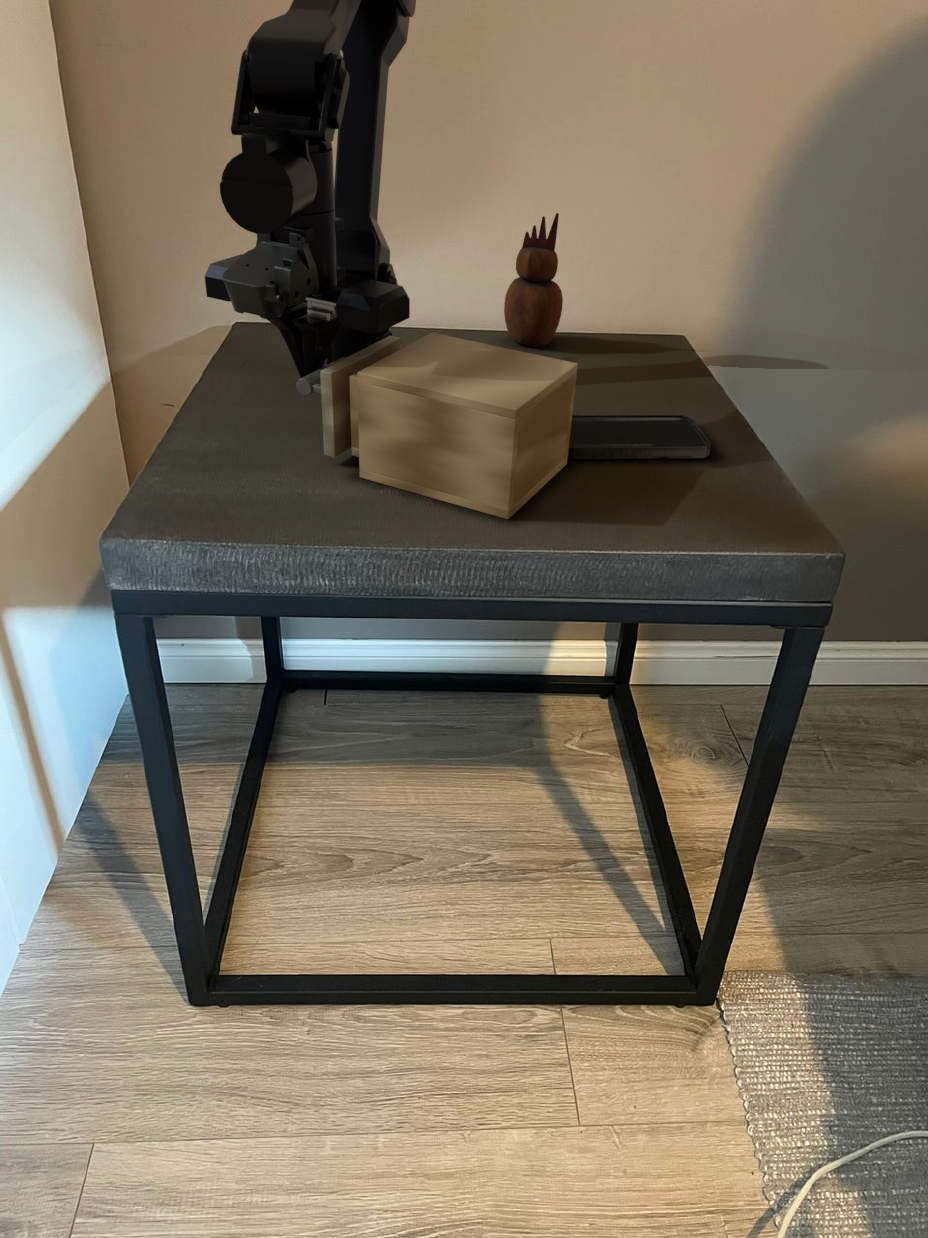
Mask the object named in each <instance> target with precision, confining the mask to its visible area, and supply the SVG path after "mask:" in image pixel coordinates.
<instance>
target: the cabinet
mask: <svg viewBox="0 0 928 1238" xmlns="http://www.w3.org/2000/svg"><path fill="white" fill-rule="evenodd" d="M578 366H579V363H578V362H574V361H573V362H572V361H569V360H563V359H559V358H558V359H557V358H554V357H550V356H544V355H540V354H536V353H531V352H530V353H529V352H526V351H521V350H516V349H511V348H508V347H507V348H506V347H502V346H497V345H493V344H488V343H483V342H479V341H473V340H469V339H464V338H459V337H456V336H451V335H446V334H440V333H436V332H431V333H428V334H427V335H425V336H423V337H421V338H419V339H417V340H415V341H414V342H412V343H410V344H408V345H406V346H404V347H401V349H400V350H398V351H397V352H395V353H393V354H391V355H389V356H387V357H385V358H383V359H382V360H380V361H378V362H376V363H374V364H372V365H370V366H368V367H367V368H365V369H363V370H361V371H359V372H357V381H358V382H357V384H358V425H359V457H358V461H359V462H358V463H359V464H358V465H359V478H361V479H364V480H367V481H371V482H375V483H378V484H381V485H385V486H390V487H392V488H395V489H399V490H402V491H407V492H409V493H412V494H417V495H419V496H424V497H428V498H431V499H435V500H438V501H441V502H445V503H449V504H451V505H455V506H459V507H463V508H466V509H469V510H472V511H473V510H474V511H477V512H480V513H483V514H487V515H490V516H494V517H498V518H501V519H503V520H504V519H505V520H509V519H511V517H512V516H514V515H515V514H516V513H517V512H518V511H519V510H520V509H521V508H522V507H523V506H524V505H525V504H527V503H528V501H529V500H531V499H532V498H533V497H534V496H535V495H536V494H537V493H538V492H539V491H541V489H542V488H543V487H545V485H546V484H548V483H549V481H551V480H552V479H553V478H554V477H555V476H556V475H558V473H559V472H560V471H562V469H563V468H564V467H565V466H567V464H568V459H567V458H568V457H567V456H568V449H569V440H570V431H571V422H572V415H573V413H574V412H573V411H574V403H575V395H576V387H577V376H578Z"/></svg>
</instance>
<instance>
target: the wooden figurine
mask: <svg viewBox="0 0 928 1238" xmlns="http://www.w3.org/2000/svg"><path fill="white" fill-rule="evenodd" d="M559 216H560V214H559V212H555V215H554V218H553V222H552V224H551V227H550V230H549V232H548V235H547V227H546V226H547V225H546V216H545V215H543V216H542V218H541V222H540V227H539V232H538V233H537V226H536V225H533V226H532V230H531V235H530V233H529V231H526V232H525V234H524V237H523V242H522V246H521V248H520V250H519V251H518V254H517V256H516V258H515V259H516V260H515V271H516V274H517V275H518V277H516V278H514V279H513V280H512V281H511V283H510V284H509V286H508V288H507V291H506V293H505V298H504V305H503V306H504V307H503V313H504V314H503V315H504V321H505V323H504V324H505V326H506V330H507V332H508V335H509V337H510V338H511V340H513V341H514V342H515V343H517V344H518V345H522V346H526V347H542V346H546V345H549V343H550V342H552V340H553V338H554V336H555V334H556V332H557V329H558V327H559V325H560V321H561V317H562V312H563V311H562V310H563V304H564V303H563V299H564V298H563V292H562V289H561V288H560V286H559V284H558V283H557V282H555V281H554V280H553V279H554V278H555V277H556V275H557V272H558V267H559V259H558V258H559V257H558V254H557V252H556V250H555V249H556V243H557V235H558V227H559V225H558V224H559Z"/></svg>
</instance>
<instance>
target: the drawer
mask: <svg viewBox="0 0 928 1238" xmlns="http://www.w3.org/2000/svg"><path fill="white" fill-rule="evenodd" d="M401 339H402V338H401V337H399V336H393V335H392V336H388V337H386V338H384V339H382V340H380V341H378V342H377V343H375V344H373V345H371V346H369V347H367V348H365V349H363V350H361V351H359V352H357V353H355V354H353V355H351V356H349V357H343V358H341V359H339V360H337V361H335V362H333V363H331V364H329V365H327V366H325V367H323V368H321V369H319V370H317V371H315V372H313V373H311V374H309V375H307V376H305V377H303V378H301V377H300V378H299V379H297V381H296V385H295V387H296V389H297V391H298V393H299V394H300V395H301V396H304V397H309V396H310V395H311V394H314V393H315V394H316V393H317V394H321V395H320V396H321V416H322V436H323V454H324V455H325V456H328V457H331V458H337V457H339V456H340V455H342V454H343V453H344V452H346V451H348V450H349V449H351V456H353V457H357V458H359V425H358V384H357V382H358V381H357V372H359V371H361V370H363V369H365V368H367V367H368V366H370V365H372V364H374V363H376V362H378V361H380V360H382V359H383V358H385V357H387V356H389V355H391V354H393V353H395V352H397V351H398V350H400V349H402V340H401Z"/></svg>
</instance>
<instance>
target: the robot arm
mask: <svg viewBox="0 0 928 1238" xmlns="http://www.w3.org/2000/svg"><path fill="white" fill-rule="evenodd" d="M416 7H417V0H292V2H291V3H290V6H289V8H288V9H287V11H286V12H285V13H284V14H282V15H279V16H276V17H274V18H271V19H268V20H266V21H264V22H263V23H262V24H261V25H260V26H259V28H257V30H256V31H254V33H253V34H252V36H251V37H250V38H249V40H248V42H247V45H246V49H244V50H243V52H242V54H241V58H240V62H239V70H238V76H237V84H236V90H235V98H234V103H233V111H232V117H231V124H230V132H231V135H232V136H240V143H241V152H240V153H238V154H236V155H234V156H233V157H232V158H231V159H230V160H229V162H228V163H226V165H225V167H224V169H223V170H222V175H221V179H220V182H219V194H220V198H221V203H222V204H223V207H224V209H225V211H226V213H227V214H228V215H229V217H230V218H231V220H232V221H234V222H235V224H237V225H238V226H239V228H240V227H241V228H242V229H243V230H245V231H247V232H250V233H253V234H256V244H255V246H254V247H253V248H252V249H249V250H247V251H246V252H244V253H240V254H236V255H234V256H230V257H227V258H224V259H221V260H218V261H214V262H211V263H210V264H209V266H208V268H207V270H206V272H205V274H204V285H205V293H206V297H207V298H210V299H215V300H220V301H223V302H231V305H232V307H233V311H234V312H236V313H238V314H244V313H247V314H250V315H254V316H258V317H260V318H261V319H263V320H267V321H268V322H270V323H271V324H272V325H273V326H274V327H276V328H277V329H278V330H279V332H280V334H281V336H282V338H283V340H284V342H285V344H286V346H287V348H288V351H289V353H290V355H291V358H292V360H293V363H294V365H295V367H296V369H297V372H298V375H299V377H300V379H301V378H303V377H305V376H307V375H309V374H311V373H313V372H315V371H317V370H319V369H321V368H323V367H325V366H327V365H329V364H331V363H333V362H335V361H337V360H339V359H341V358H343V357H349V356H351V355H353V354H355V353H357V352H359V351H361V350H363V349H365V348H367V347H369V346H371V345H373V344H375V343H377V342H378V341H380V340H382V339H384V338H386V337H388V336H393V332H392V330H390V328H392V327H393V326H396V325H398V324H400V323H402V322H404V321H406V320H408V319H410V318H411V317H410V315H411V313H410V312H411V311H410V309H411V308H410V307H411V306H410V305H411V301H410V299H411V298H410V297H409V294H408V293H407V291H406V290H405V288H404V287H403V285H401V284H400V285H399V283H398V279H397V277H396V273H395V270H394V267H393V264H392V263H391V250H390V249H391V248H390V247H389V245H388V243H387V240H386V238H385V236H384V233H383V231H382V229H381V227H380V225H379V222H378V214H379V201H380V190H381V189H380V187H381V175H382V163H383V147H384V135H385V123H386V122H385V121H386V109H387V95H388V83H389V82H388V81H389V72H390V67H391V65H392V64H393V62H394V61H395V60H396V58H397V57H398V55H399V54H400V52H401V51H402V50H403V48H404V47H405V45H406V44H407V42H408V34H409V26H410V20H411V19H410V18H414V16H415V13H416ZM341 52H342V54H341ZM256 110H257V112H255V111H256ZM336 130H337V140H336V141H337V142H336V153H335V154H336V155H335V170H334V151H333V150H334V149H333V144H332V142H333V141H334V140H335V139H334V137H335V132H336Z"/></svg>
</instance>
